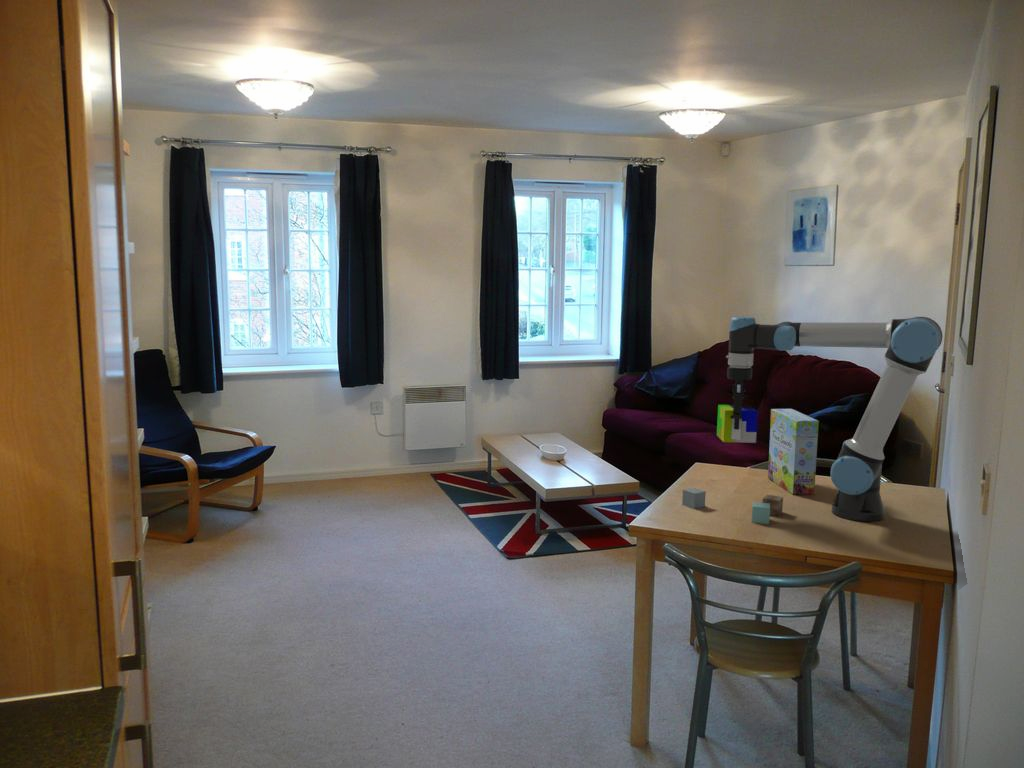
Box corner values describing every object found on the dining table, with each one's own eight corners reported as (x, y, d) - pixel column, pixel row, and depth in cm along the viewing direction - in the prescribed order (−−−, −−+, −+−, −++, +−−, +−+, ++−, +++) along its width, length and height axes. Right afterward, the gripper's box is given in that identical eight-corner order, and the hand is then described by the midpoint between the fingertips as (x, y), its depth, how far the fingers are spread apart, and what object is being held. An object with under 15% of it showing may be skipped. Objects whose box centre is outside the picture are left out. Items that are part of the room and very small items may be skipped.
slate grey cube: (704, 506, 270) (705, 491, 270) (693, 509, 267) (694, 493, 267) (693, 502, 274) (694, 487, 274) (682, 505, 272) (683, 489, 271)
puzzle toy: (755, 442, 263) (757, 410, 261) (723, 442, 263) (725, 410, 262) (747, 435, 273) (749, 405, 271) (716, 435, 273) (718, 404, 271)
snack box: (765, 478, 306) (769, 408, 302) (788, 478, 307) (793, 408, 303) (791, 495, 284) (796, 420, 280) (815, 495, 285) (821, 419, 281)
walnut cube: (782, 512, 265) (783, 497, 265) (778, 516, 261) (779, 500, 260) (766, 509, 268) (767, 494, 267) (761, 513, 264) (762, 498, 263)
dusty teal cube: (768, 519, 258) (769, 503, 258) (769, 524, 253) (770, 508, 253) (751, 517, 260) (752, 501, 259) (751, 522, 255) (752, 506, 254)
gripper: (728, 361, 277) (724, 427, 280) (726, 370, 254) (722, 442, 258) (752, 362, 275) (748, 429, 278) (752, 371, 252) (748, 444, 256)
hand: (736, 435), depth 268 cm, fingers closed on puzzle toy, 11 cm apart
